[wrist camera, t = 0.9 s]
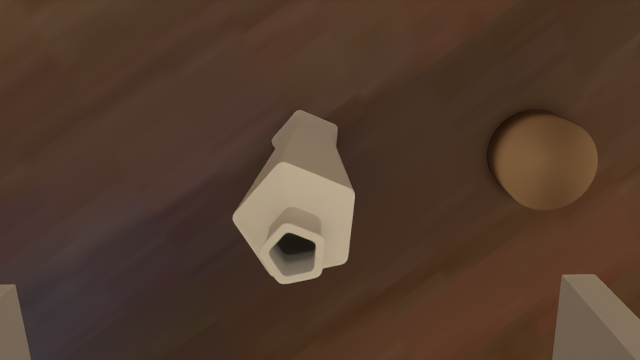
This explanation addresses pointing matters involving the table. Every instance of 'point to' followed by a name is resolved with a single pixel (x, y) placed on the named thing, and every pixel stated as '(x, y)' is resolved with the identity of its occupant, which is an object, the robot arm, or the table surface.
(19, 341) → the robot arm
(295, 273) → the perfume bottle
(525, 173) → the brown short cylinder
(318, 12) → the table surface
